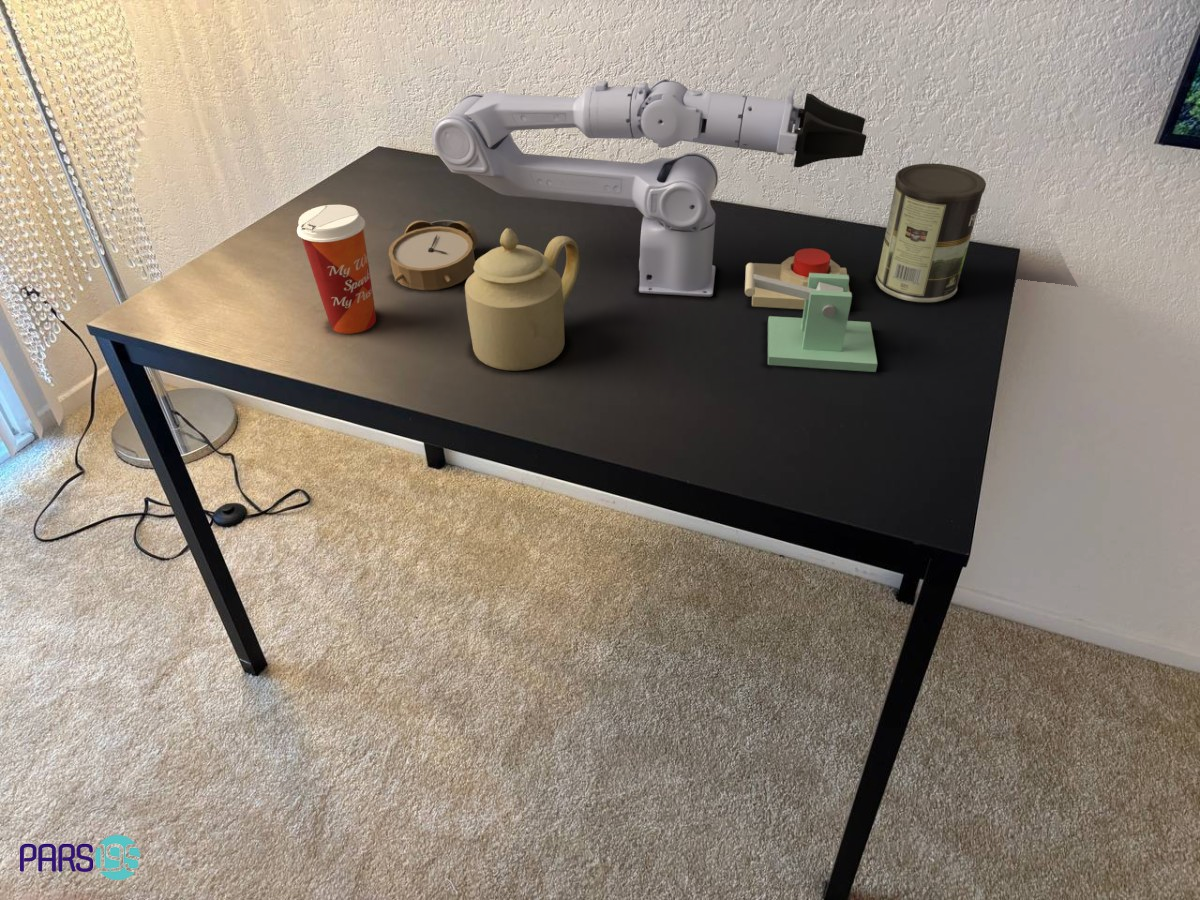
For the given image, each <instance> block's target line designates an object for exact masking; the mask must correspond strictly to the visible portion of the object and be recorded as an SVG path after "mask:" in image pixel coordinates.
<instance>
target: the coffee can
mask: <svg viewBox="0 0 1200 900" xmlns="http://www.w3.org/2000/svg"><path fill="white" fill-rule="evenodd" d="M894 182H895V185H894V189H893V193H892V199H891V205H890V209H889V215H888V219H887V224H886V228H885V235H884V238H883V244H882V250H881V254H880V259H879V264H878V268H877V274H876V276H875V282H876V284H877V286H878V287H879V289H880V290H881V291H883V292H884V293H886V294H887V295H889V296H891V297H895V298H897V299H900V300H903V301H906V302H913V303H921V304H923V303H938V302H943V301H946V300H948V299H951V298H952V297H953V296H954V295H956V293H957V291H958V285H959V282H960V278H961V274H962V271H963V266H964V262H965V259H966V255H967V251H968V248H969V245H970V240H971V237H972V233H973V230H974V227H975V226H974V225H975V223H976V219H977V215H978V212H979V208H980V204H981V201H982V197H983V194H984V192H985V190H986V187H987V183H986V180H985V179H984V177H982V176H981V175H980V174H979V173H978V172H977V173H976V172H974V171H972V170H970V169H967V168H964V167H961V166H957V165H952V164H945V163H931V162H930V163H929V162H928V163H917V164H912V165H908V166H904V167H902V168H901V169H899V170H898V171H897V172H896V174H895V178H894Z"/></svg>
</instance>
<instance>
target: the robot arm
mask: <svg viewBox="0 0 1200 900" xmlns="http://www.w3.org/2000/svg"><path fill="white" fill-rule="evenodd" d="M794 95H795V89H793V88H788V90H787V94H786V99H780V98H772V97H771V98H770V97H762V96H754V95H745V94H738V93H737V94H736V93H727V92H719V91H711V90H710V91H709V90H707V91H705V90H704V91H703V90H696V89H688V87H687V86H685V85H684V84H683V83H681V82H679V81H676V80H670V79H667V78H663V79H660V80H657V81H656V82H655V83H653V85H652V86H651V87H649V83H648V82H639V83H638V85H637V86H609V82H608V81H607V80H598V81H597V82H596V83H595V84H594V86H587V87H586V88H585V89H584V91H583V92H582V93H581V94H580V95H579V96H578V97H573V96H572V97H571V96H555V95H554V96H552V95H537V94H536V95H533V94H519V93H518V94H516V93H514V94H513V93H504V92H499V91H491V92H486V93H485V94H483V93H479V92H475V93H473V92H472V93H469V94H467V95H465V96H464V97H462V98H461V100H460V101H459V103H458V104H457V105H456V106H454V108H452V110H450V111H449V112H448V113H447V114H446V115H444V116H442V117H441V118H439V119H438V120H437V121H436V122H435V124H434V126H433V128H432V130H431V143H432V146H433V149H434V151H435V153H436V154H437V156H438V157H439V158H440V160H441V161H442V163H443V164H444V165H445V166H446V167H447V169H448V170H449V171H450V172H451V173H453V174H459V175H460V174H461V175H466V176H468V177H469V178H472V180H475V181H477V182H478V183H480V184H482V185H484V187H487V188H489V189H491V190H492V191H494V192H496V193H498V194H499V195H503V196H508V197H518V198H529V199H541V200H550V201H561V202H572V203H583V204H594V205H595V204H596V205H604V206H616V207H627V208H636V209H637V210H638V211H639V212H640V213H641V214H642V215H643V216H642V220H641V228H640V229H641V230H640V239H639V241H640V243H639V244H640V245H639V259H638V271H639V287H638V292H639V294H640V293H641V294H649V295H650V294H652V295H653V294H654V295H670V296H685V297H687V296H688V297H702V298H703V297H705V298H710V297H713V295H714V286H715V276H716V266H715V265H713V257H714V247H715V230H716V216H717V215H716V212H715V210H714V208H713V206H712V205H711V200H712V196H713V195H714V193H715V191H716V189H717V186H718V183H719V173H718V169H717V166H716V164H715V163H714V162H713V161H712V160H711V159H710V158H709V157H708V156H706V155H704V154H703V153H698V152H687V153H684V154H681V155H679V156H676V157H659V158H655V159H653V160H649V161H645V162H642V163H641V162H630V161H629V162H628V161H619V160H617V161H616V160H607V159H595V158H594V159H593V158H583V157H582V158H581V157H571V156H570V157H568V156H557V155H545V154H536V153H535V154H534V153H533V154H532V153H524V152H522V150H521V149H520V148H519V146H518V145H517V144H516V142H515V141H514V138H513V136H512V133H513V132H515V131H529V130H551V129H552V130H553V129H571V128H572V129H573V128H575V129H576V128H577V129H578V130H579V131H580V132H581V133H582V134H583V135H584V136H585V137H586V138H588V139H620V140H621V139H629V140H634V139H635V140H639V139H641V138H646V139H647V140H649V141H650V140H651V141H652V143H655V144H657V146H658V148H669V147H672V146H675V145H676V144H678V143H679V142H688V143H689V142H690V143H697V144H701V145H709V146H718V147H726V148H733V149H740V150H741V149H742V150H750V151H759V152H764V153H766V152H767V153H774V154H776V155H777V156H785V155H794V161H793V167H794V168H802V167H805V166H807V165H810V164H813V163H816V162H821V161H825V160H832V159H833V160H835V159H844V158H855V157H863V154H864V151H865V150H864V149H865V145H866V141H867V138H868V137H867V134H864V133H863V131H864V128H865V123H866V118H865V117H862V116H860V115H858V114H855V113H852V112H850V111H846V110H844V109H843V110H842V109H840V108H836V106H832V105H830V104H828V103H827V102H825V101H822V99H820V98H819V97H817V96H816V95H814V94H812V93H810V92H809V93H807V92H806V94H805V101H804V105H801V104H794V103H795V100H794Z"/></svg>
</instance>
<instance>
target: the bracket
mask: <svg viewBox="0 0 1200 900" xmlns="http://www.w3.org/2000/svg"><path fill="white" fill-rule="evenodd" d="M819 282H821V283H825V284H829V285H833V286H837V287H841V288H843V292H837V291H819V290H811V291H810V297H809V300H806V299H805V305H804V309H803V311H802V317H791V316H772V315H769V316H768V319H767V366H780V367H782V366H783V367H797V368H809V369H824V370H838V371H839V370H840V371H854V372H855V371H857V372H868V373H869V372H871V373H876V372H877V368H878V358H877V352H876V347H875V340H874V335H873V329H872V323H871V322H870V321H860V320H859V321H857V320H856V321H855V320H849V314H850V311H851V306H850V305H852V299H853V293H852V292H851V291H850V292H847V289H848V284H850V274H847V275H840V274H821V273H809V278H808V285H807V287H808V288H812V289H816V288H817V286H818V283H819ZM849 310H850V311H849Z"/></svg>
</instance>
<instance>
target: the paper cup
mask: <svg viewBox="0 0 1200 900" xmlns="http://www.w3.org/2000/svg"><path fill="white" fill-rule="evenodd" d="M365 227H366V221H365V219H364V218H363V216H361V215H360V212H359V210H357V209H356V208H355V207H353V206H350V205H346V204H326V205H320V206H316V207H313V208H310V209H308V210H306V211H305V212H303V213H302V214H301V215H300V216H299V218H298V226H297V229H296V233H297V235H298V237H299V238H300V239H301V240H302V244H303V247H304V250H305V253H306V256H307V258H308V262H309V265H310V269H311V272H312V274H313V277H314V281H315V284H316V287H317V290H318V294H319V296H320V299H321V303H322V305H323V308H324V311H325V315H326V317H327V320H328V323H329V325H330V327H331V330H333V331H334V332H336V333H339V334H343V335H344V334H346V335H351V334H358V333H362V332H365V331H367V330H369V329H370V328H372V327H373V326H374V325H375V323H376V320H377V318H376V317H377V316H376V306H375V300H374V299H375V298H374V293H373V286H372V285H373V284H372V278H371V272H370V266H369V264H370V263H369V258H368V250H367V246H366V245H367V244H366V239H365V238H366V237H365V230H364V228H365Z"/></svg>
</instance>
